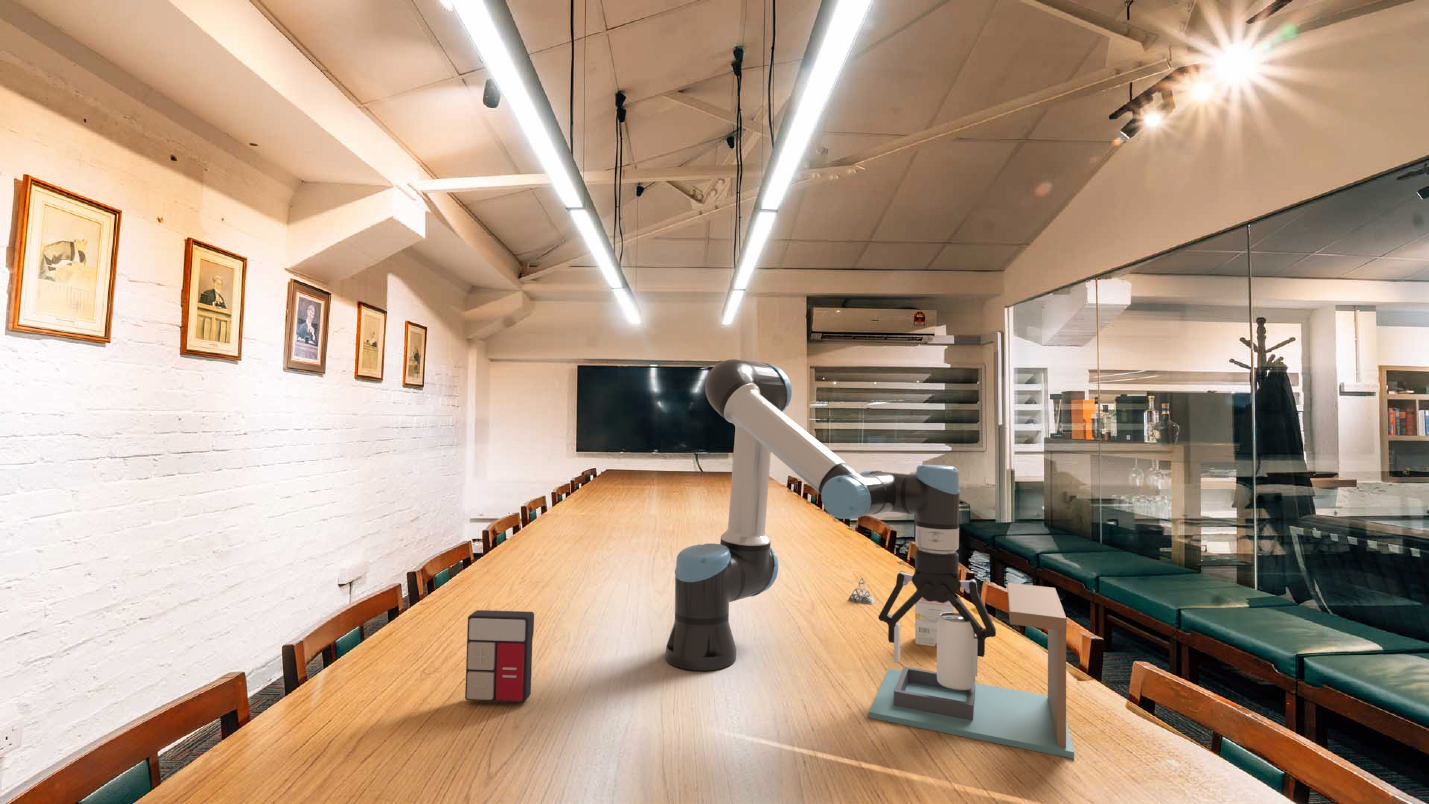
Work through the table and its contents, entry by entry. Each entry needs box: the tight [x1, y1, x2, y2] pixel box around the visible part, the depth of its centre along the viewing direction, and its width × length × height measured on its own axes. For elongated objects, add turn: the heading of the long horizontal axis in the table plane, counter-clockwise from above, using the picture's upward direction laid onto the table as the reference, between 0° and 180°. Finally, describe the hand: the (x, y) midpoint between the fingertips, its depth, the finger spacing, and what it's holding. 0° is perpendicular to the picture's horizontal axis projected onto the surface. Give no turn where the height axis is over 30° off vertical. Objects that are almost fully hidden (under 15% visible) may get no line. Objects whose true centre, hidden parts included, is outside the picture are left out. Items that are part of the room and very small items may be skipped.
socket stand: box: [868, 582, 1075, 760], centre depth 115 cm, size 31×22×21 cm
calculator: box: [464, 609, 535, 703], centre depth 116 cm, size 11×4×15 cm, turn 88°
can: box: [936, 612, 976, 691], centre depth 116 cm, size 6×6×12 cm
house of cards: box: [847, 577, 876, 605], centre depth 183 cm, size 9×9×8 cm
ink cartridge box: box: [914, 587, 955, 648], centre depth 149 cm, size 9×5×15 cm, turn 68°
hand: (935, 667), depth 117 cm, fingers open, 13 cm apart
